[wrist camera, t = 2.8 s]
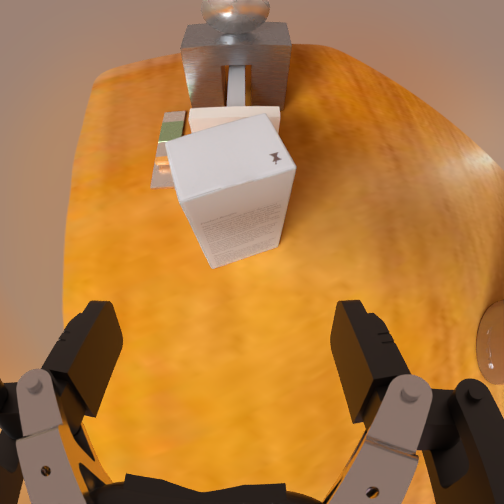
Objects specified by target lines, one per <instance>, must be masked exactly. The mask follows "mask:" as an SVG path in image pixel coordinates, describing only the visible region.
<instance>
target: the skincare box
mask: <svg viewBox="0 0 504 504" xmlns="http://www.w3.org/2000/svg"><path fill="white" fill-rule="evenodd" d="M165 147H166V152H167V157H168V161H169V165H170V169H171V174H172V178H173V182H174V186H175V190H176V193H177V197H178V200H179V203H180V205H181V207H182V209H183V211H184V213H185V215H186V217H187V219H188V221H189V223H190V225H191V227H192V229H193V231H194V233H195V235H196V238H197V240H198V242H199V244H200V246H201V248H202V250H203V252H204V254H205V256H206V258H207V261H208V263H209V265H210V267H211V268H212V269H214V268H217V267H220V266H223V265H226V264H229V263H232V262H235V261H238V260H241V259H244V258H247V257H249V256H252V255H255V254H258V253H261V252H264V251H267V250H270V249H273V248H276V247H278V245H279V241H280V237H281V232H282V228H283V224H284V220H285V216H286V212H287V207H288V203H289V199H290V194H291V190H292V185H293V181H294V177H295V173H296V168H297V167H296V165H295V163H294V161H293V159H292V158H291V156H290V154H289V152H288V151H287V149H286V147H285V145H284V144H283V142H282V140H281V138H280V137H279V135H278V133H277V131H276V130H275V128H274V126H273V124H272V123H271V121H270V119H269V118H268V116H267V114H266V113H262V114H258V115H255V116H251V117H247V118H243V119H239V120H236V121H232V122H228V123H225V124H221V125H218V126H214V127H211V128H208V129H204V130H201V131H198V132H195V133H192V134H188V135H185V136H182V137H179V138H176V139H173V140H170V141H167V142H165Z"/></svg>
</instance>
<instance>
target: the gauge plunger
mask: <svg viewBox="0 0 504 504" xmlns="http://www.w3.org/2000/svg"><path fill="white" fill-rule="evenodd" d="M262 113H266V114H267V116H268V118H269V119H270V121H271V123H272V124H273V126H274V128H275V130H276V131H277V133H278V132H279V124H280V108H279V107H278V106H245V65H229V76H228V93H227V107H207V108H192V109H190V113H189V123H190V128H191V132H192V133H195V132H198V131H201V130H204V129H208V128H211V127H214V126H218V125H221V124H225V123H228V122H232V121H236V120H239V119H243V118H247V117H251V116H255V115H258V114H262ZM155 163H156V165H169V161H168V157H167V156H161V157H156V159H155Z"/></svg>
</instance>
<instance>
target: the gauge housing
mask: <svg viewBox="0 0 504 504" xmlns="http://www.w3.org/2000/svg"><path fill="white" fill-rule="evenodd" d="M269 10H270V6H269V1H268V0H203V2H202V8H201V11H202V15H203V18H204V20H205V21H206V22H207V23H206V24H194V25H188V26H187V29H186V32H185V35H184V38H183V41H182V44H181V48H180V50H181V55H182V60H183V66H184V71H185V76H186V81H187V86H188V91H189V96H190V100H191V105H192V108H207V107H224V106H225V90H226V76H225V65H251V106H278V107H279V108H280V110H283V109H284V102H285V94H286V87H287V79H288V71H289V63H290V56H291V48H292V45H291V40H290V36H289V32H288V28H287V24H286V23H281V22H265V20H266V19H267V17H268V14H269ZM185 115H186V111H177V112H167V113H165V114H164V118H163V123H162V127H161V132H160V137H159V142H158V147H157V153H156V157H161V156H167V152H166V147H165V142H167V141H170V140H173V139H176V138H179V137H182V134H183V127H184V121H185ZM155 159H156V158H155ZM169 188H175V186H174V182H173V178H172V174H171V169H170V165H156V163H155V164H154V169H153V175H152V181H151V190H152V189H169Z"/></svg>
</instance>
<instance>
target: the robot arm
mask: <svg viewBox="0 0 504 504" xmlns="http://www.w3.org/2000/svg"><path fill="white" fill-rule="evenodd" d="M330 343H331V350H332V354H333V357H334V360H335V364H336V367H337V370H338V374H339V377H340V380H341V384H342V387H343V391H344V394H345V397H346V401H347V404H348V408H349V412H350V415H351V419H352V422H353V424H354V423H360V422H364V425H365V428H366V430H365V431H364V433H363V435H362V437H361V439H360V441H359V443H358V445H357V446H356V448H355V450H354V452H353V454H352V455H351V457H350V459H349V461H348V462H347V464H346V466H345V468H344V469H343V471H342V473H341V474H340V476H339V477H338V479H337V480H336V482H335V483H334V485H333V486H332V488H331V489H330V491H329V492H328V494H327V495H326V497H325V498H324V500H323V501H322V502H320V501H318V500H316V499H314V498H312V497H309V496H306V495H304V494H300V493H296V492H291V491H286V484H285V483H281V484H261V485H242V486H237V487H232V488H227V489H222V490H216V491H210V492H198V491H194V490H191V489H188V488H185V487H182V486H179V485H176V484H173V483H170V482H167V481H165V480H162V479H155V478H149V477H143V476H137V475H132V474H127V473H126V476H125V481H124V482H116V483H113V482H112V480H111V479H110V477H109V476H108V475H107V473H106V472H105V471H104V469H103V468H102V466H101V464H100V462H99V460H98V457H97V455H96V453H95V451H94V448H93V446H92V444H91V441H90V439H89V436H88V434H87V431H86V429H85V426H84V424H83V423H82V420H83V417H84V415H86V416H90V417H95V418H96V415H97V412H98V410H99V407H100V404H101V401H102V399H103V396H104V393H105V390H106V388H107V385H108V382H109V380H110V377H111V375H112V372H113V370H114V367H115V365H116V362H117V360H118V357H119V355H120V352H121V350H122V345H123V336H122V332H121V329H120V326H119V323H118V320H117V317H116V314H115V310H114V307H113V305H112V303H111V302H110V301H90V302H89V303H88V305H87V307H86V308H85V310H84V311H83V313H79V314H78V315H77V316H75V317H74V318H73V319H72V320H71V321H70V322H69V323H68V325H67V326H66V328H65V329H64V333H62V335H61V336H60V337H59V341H57V342H56V344H55V346H54V347H53V349H52V351H51V352H50V354H49V356H48V357H47V359H46V361H45V363H44V364H43V366H42V368H41V369H33V370H30V371H28V372H26V373H25V374H24V375H23V376H22V377H21V378H20V379H19V381H18V382H15V383H2V381H1V379H0V428H1V429H2V431H1V433H0V504H17V503H18V498H19V494H20V490H21V486H22V482H23V479H24V481H25V485H26V487H27V491H28V494H29V498H30V501H31V504H401V503H402V501H403V499H404V496H405V494H406V492H407V490H408V487H409V485H410V482H411V480H412V477H413V475H414V472H415V470H416V467H417V464H418V460H419V457H418V455H416V450H422V452H423V456H424V459H425V463H426V466H427V470H428V474H429V477H430V481H431V485H432V489H433V493H434V497H435V501H436V504H504V419H503V417H502V415H501V413H500V410H499V408H498V406H497V404H496V403H495V401H494V399H493V397H492V395H491V393H490V391H489V389H488V388H487V387H486V385H484V384H483V383H482V382H480V381H478V380H476V379H465V380H462V381H461V382H460V383H459V384H458V385H457V387H456V388H455V390H443V389H431V388H430V386H429V384H428V383H427V382H426V381H425V380H423V379H422V378H420V377H418V376H415V375H411V373H410V371H409V369H408V367H407V365H406V363H405V361H404V359H403V357H402V355H401V353H400V351H399V349H398V347H397V346H396V344H395V343H394V340H393V338H392V336H391V334H389V330H388V329H387V327H386V325H385V323H384V321H382V320H381V319H380V318H379V317H378V316H376V315H375V314H374V313H367V312H366V310H365V308H364V306H363V304H362V303H361V301H360V300H346V301H338V303H337V306H336V311H335V316H334V321H333V326H332V331H331V337H330ZM476 352H477V361H478V365H479V368H480V371H481V373H482V375H483V376H484V378H485V379H486V380H487V381H489V382H490V383H492V384H500V385H504V300H501V301H498V302H496V303H494V304H492V305H491V306H490V307H489V308H488V309H487V311H486V312H485V314H484V315H483V318H482V320H481V322H480V326H479V330H478V335H477V345H476Z"/></svg>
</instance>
